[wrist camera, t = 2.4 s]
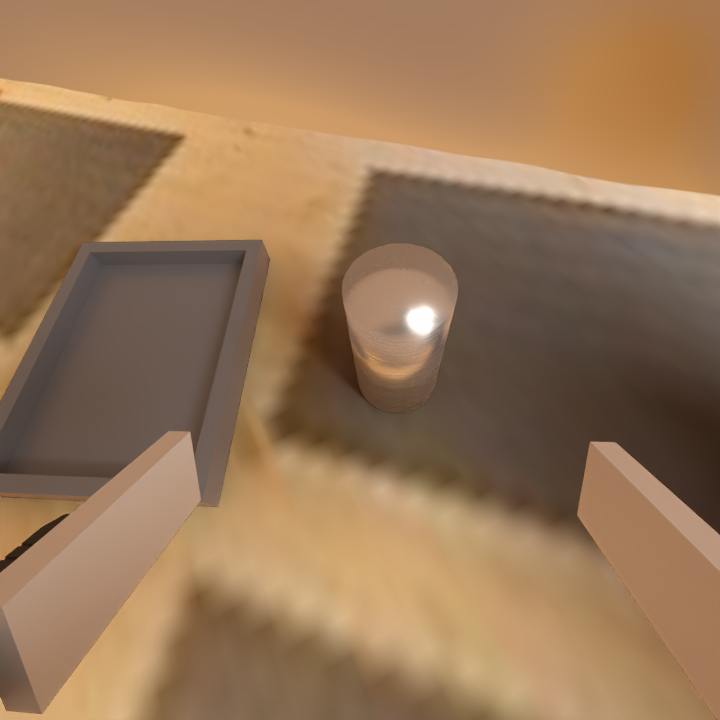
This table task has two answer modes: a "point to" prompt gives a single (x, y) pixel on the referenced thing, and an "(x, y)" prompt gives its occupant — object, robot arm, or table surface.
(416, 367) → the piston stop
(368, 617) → the table surface
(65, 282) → the slate tray
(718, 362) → the table surface
